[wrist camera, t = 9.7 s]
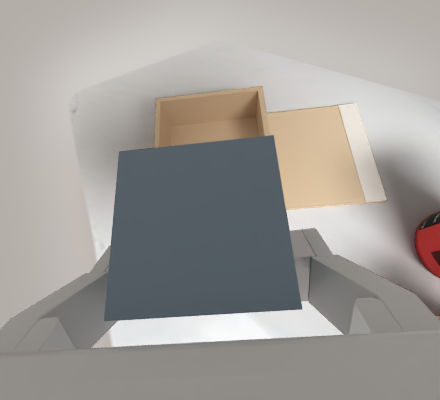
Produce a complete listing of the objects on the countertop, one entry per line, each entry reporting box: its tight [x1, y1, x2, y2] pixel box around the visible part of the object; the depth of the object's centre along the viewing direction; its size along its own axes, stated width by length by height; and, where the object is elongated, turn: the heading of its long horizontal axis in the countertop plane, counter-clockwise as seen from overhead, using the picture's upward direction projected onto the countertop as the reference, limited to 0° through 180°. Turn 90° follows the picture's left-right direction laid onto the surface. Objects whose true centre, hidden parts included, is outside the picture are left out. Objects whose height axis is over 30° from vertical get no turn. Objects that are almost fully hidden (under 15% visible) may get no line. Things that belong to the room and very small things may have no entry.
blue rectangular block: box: [104, 135, 302, 321], centre depth 10 cm, size 4×4×8 cm
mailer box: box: [154, 86, 387, 210], centre depth 30 cm, size 26×14×6 cm, turn 93°
